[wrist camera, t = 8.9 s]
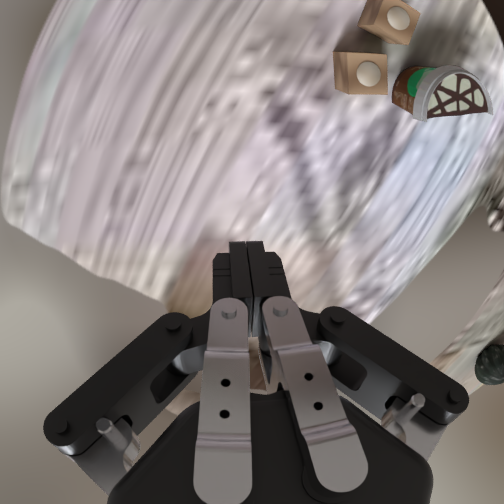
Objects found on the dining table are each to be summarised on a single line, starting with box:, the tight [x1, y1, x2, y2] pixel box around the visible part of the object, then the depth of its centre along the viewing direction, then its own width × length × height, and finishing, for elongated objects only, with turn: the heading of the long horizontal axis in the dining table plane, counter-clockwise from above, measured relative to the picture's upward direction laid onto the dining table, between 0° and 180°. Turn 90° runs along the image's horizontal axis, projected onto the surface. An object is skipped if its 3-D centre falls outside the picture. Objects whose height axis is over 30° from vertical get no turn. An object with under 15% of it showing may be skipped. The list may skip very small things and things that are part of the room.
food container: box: [392, 65, 493, 122], centre depth 31 cm, size 12×6×10 cm, turn 104°
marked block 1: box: [333, 52, 388, 95], centre depth 32 cm, size 5×5×5 cm
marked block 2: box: [357, 0, 420, 45], centre depth 28 cm, size 5×5×5 cm
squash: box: [475, 345, 504, 385], centre depth 78 cm, size 14×15×15 cm
